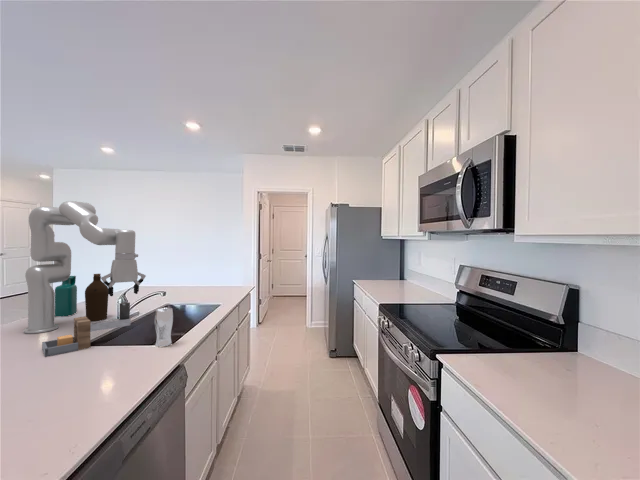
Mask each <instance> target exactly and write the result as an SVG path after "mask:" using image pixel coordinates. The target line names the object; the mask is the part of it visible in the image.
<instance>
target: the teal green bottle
mask: <svg viewBox="0 0 640 480" xmlns="http://www.w3.org/2000/svg"><path fill="white" fill-rule="evenodd" d="M76 277H77V275H70V277H69V278H68V279H67V280H66V281H62V282H61V284H60V285H57V286H56V287H55V288H54V293H55V312H54V317H56V316H61V317H69V316H68V315H71V316H73V315H72V314H74V313H76V312H77V313H78V311H77V310H78V286H77V285H76V279H77V278H76ZM77 313H76V314H77ZM74 315H75V314H74Z"/></svg>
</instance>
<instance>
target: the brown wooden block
mask: <svg viewBox="0 0 640 480" xmlns="http://www.w3.org/2000/svg"><path fill="white" fill-rule="evenodd" d="M91 323H92V321H90V320H89V319H88V318H87V317H86V315H85V316H78V317H74V318H73V337H74V343H77V342H78V351H79V350H85V349H84V348H86V349H90V348H91V332H90V329H91ZM89 347H90V348H89Z"/></svg>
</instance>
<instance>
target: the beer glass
mask: <svg viewBox="0 0 640 480" xmlns="http://www.w3.org/2000/svg"><path fill="white" fill-rule="evenodd" d="M173 322H174V312H173V308H172V307H161V308H160V307H159V308H157V309H155V313H154V328H155V334H156V341H155V347H157V346H165V347H168V346H170V345H172V344H173V343H172V335H171V334H172V329H173V324H174V323H173Z"/></svg>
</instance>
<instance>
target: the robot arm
mask: <svg viewBox="0 0 640 480" xmlns="http://www.w3.org/2000/svg"><path fill="white" fill-rule="evenodd" d="M96 213H97V210H96V208H95V206H94V205H92V204H91V203H89V202H84V201H77V200H76V201H74V200H67V201H64V202H62V203H61V204H60V205H59V207H57V206H56V207H55V206H38V207H34V208H33V209H32V210H31V211H30V213H29V215H28V224H29V229H30V258H31V260H33V261H35V262H37V263H39V262H41V263H43V262H44V263H45V264H44V263H43V264H36V265H32V266H30V267H28V269H27V270H26V271H25V274H24V275H25V276H24V277H25V282H26V284H27V285H26V286H27V299H28V300H27V306H28V307H27V327H25V328H24V329H23V331H22V332H23V333H24V334H41V333H45V332H52V331H54V330H57V329H58V328H59V327H60V326H59V324H58V323H55V289H54V288H53V287H52V286H51V284H55V283H62V281H66V280H67V279H68V278H69V277H70V276H71V273H72V272H71V271H72V249H71V247H70V245H68V244H67V243H66V242H63V241H55V236H56V235H55V232H54V229H53V228H52V227H51V225H52V226H53V225H54V226H77V227H78V229H79V232H80V234H81V236H82V237H83V238H84V239H85V240H86V241H89V242H90V243H91V244H93V245H96V246H115V251H114V252H115V253H114V259H113V260H112V261H111V267H110V272H109V273H108V274H106V275H103V276H101V281H102V282H103V283H104V284H105V285H106V286H107V287H108V296H110V297H114V285H115V284H117V283H130V282H132V283H134V285H133V294H135V295H137V294H138V292H139V291H140V290H139V289H140V285H141V284H142V282H144V280H145V278H146V277H147V275H146V274H143V273H141V272H139V271H138V263H137V259H136V258H138V257H139V254H137V253H136V231H134V230H133V229H119V228H107V227H106V228H102V227H101V228H100V227H98V226H97V225H98V224H99V217H98V216H97V214H96ZM46 262H53V263H46ZM138 276H139V277H140V279H139V277H138ZM108 278H109V280H110V281H108V280H107V279H108Z"/></svg>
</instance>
